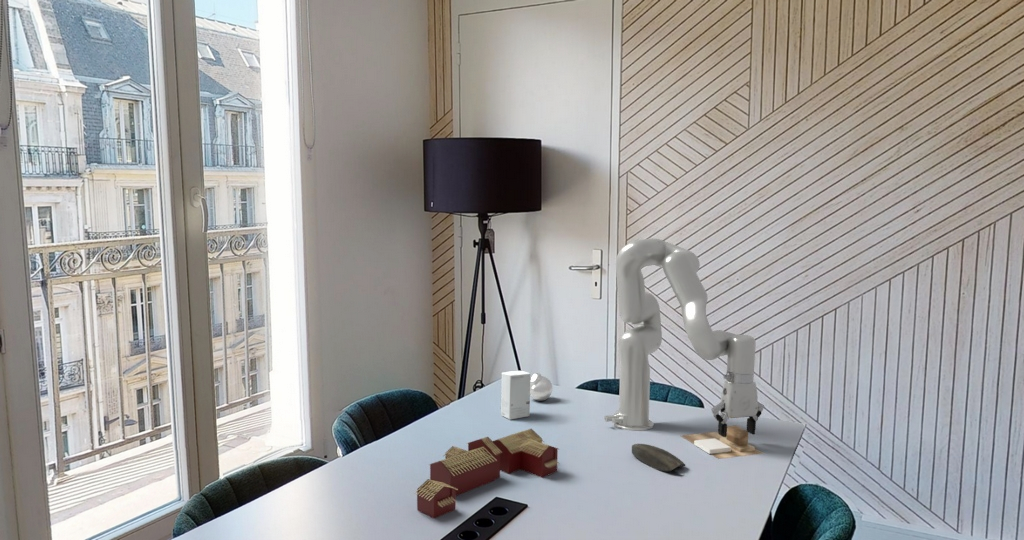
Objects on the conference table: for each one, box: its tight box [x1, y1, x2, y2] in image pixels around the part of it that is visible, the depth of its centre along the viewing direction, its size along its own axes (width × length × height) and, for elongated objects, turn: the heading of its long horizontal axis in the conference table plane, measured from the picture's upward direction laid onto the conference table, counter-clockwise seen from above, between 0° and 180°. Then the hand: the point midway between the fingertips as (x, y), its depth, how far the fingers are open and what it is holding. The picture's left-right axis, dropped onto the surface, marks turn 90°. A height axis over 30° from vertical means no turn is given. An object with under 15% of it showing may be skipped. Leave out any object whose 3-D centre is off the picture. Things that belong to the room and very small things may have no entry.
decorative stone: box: [631, 443, 686, 472], centre depth 196 cm, size 17×6×4 cm, turn 35°
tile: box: [693, 438, 731, 455], centre depth 206 cm, size 7×1×8 cm
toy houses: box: [413, 428, 559, 519], centre depth 182 cm, size 45×21×10 cm, turn 136°
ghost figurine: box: [530, 372, 554, 402], centre depth 256 cm, size 9×9×10 cm
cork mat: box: [680, 431, 763, 460], centre depth 210 cm, size 15×20×1 cm
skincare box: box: [500, 370, 531, 421], centre depth 237 cm, size 8×6×15 cm
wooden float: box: [720, 425, 756, 452], centre depth 209 cm, size 5×10×5 cm, turn 18°
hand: (736, 434), depth 209 cm, fingers open, 9 cm apart
